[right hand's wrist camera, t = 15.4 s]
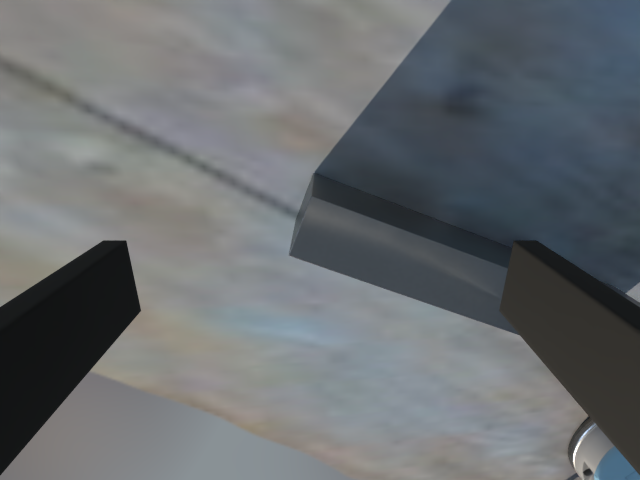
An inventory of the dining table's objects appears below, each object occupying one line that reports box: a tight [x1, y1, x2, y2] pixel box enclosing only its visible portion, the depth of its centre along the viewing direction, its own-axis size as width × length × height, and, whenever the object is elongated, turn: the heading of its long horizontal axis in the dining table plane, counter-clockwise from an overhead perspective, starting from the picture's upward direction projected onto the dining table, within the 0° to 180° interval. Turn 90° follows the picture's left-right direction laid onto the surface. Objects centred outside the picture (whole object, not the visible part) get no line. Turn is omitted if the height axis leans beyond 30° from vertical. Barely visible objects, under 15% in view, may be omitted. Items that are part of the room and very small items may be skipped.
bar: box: [289, 173, 640, 335], centre depth 34 cm, size 36×5×9 cm, turn 69°
